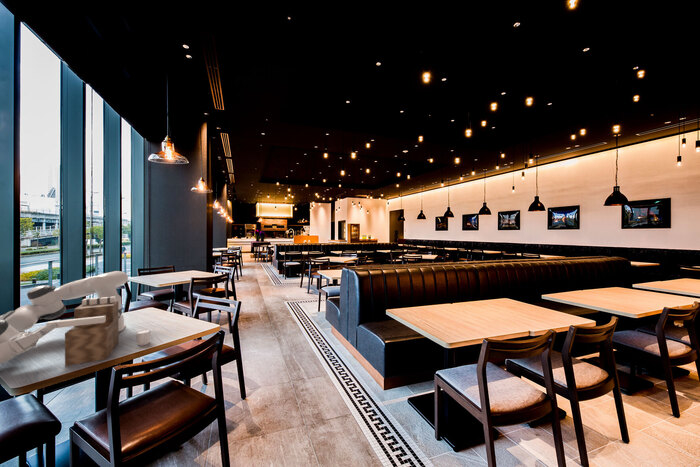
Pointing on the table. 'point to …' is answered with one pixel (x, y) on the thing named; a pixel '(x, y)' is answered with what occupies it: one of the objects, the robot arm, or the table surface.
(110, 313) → the two-step stand
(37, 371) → the table surface
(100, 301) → the striped bar
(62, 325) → the plain bar
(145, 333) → the white rounded cube
